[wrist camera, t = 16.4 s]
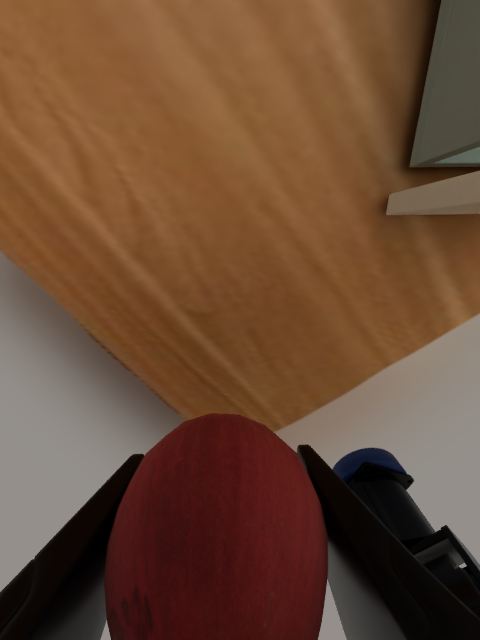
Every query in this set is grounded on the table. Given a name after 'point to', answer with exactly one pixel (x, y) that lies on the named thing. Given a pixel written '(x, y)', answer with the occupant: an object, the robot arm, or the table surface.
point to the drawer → (448, 117)
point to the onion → (218, 539)
